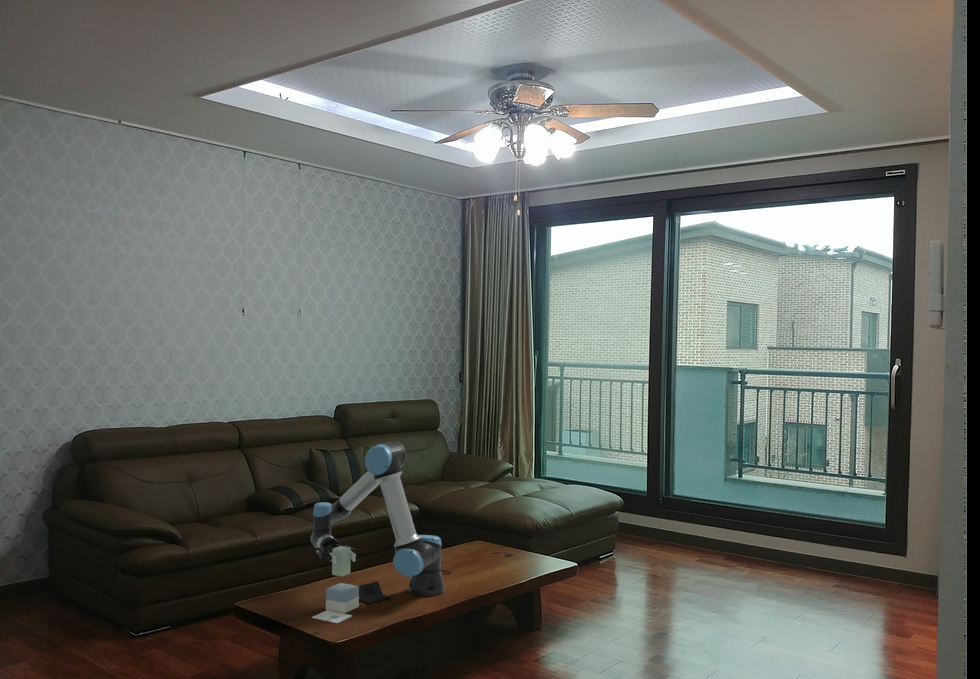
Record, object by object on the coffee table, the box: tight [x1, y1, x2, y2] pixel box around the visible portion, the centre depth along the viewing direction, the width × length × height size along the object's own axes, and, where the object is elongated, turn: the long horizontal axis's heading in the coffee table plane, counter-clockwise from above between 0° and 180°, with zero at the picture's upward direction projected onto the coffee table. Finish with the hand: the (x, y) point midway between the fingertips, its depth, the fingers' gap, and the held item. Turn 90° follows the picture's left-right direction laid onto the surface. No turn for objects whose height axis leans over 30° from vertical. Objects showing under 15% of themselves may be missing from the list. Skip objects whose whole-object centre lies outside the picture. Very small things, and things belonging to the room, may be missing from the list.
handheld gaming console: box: [358, 581, 391, 606], centre depth 315 cm, size 12×7×10 cm
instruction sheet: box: [311, 610, 353, 624], centre depth 293 cm, size 12×9×1 cm
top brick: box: [331, 545, 352, 577], centre depth 304 cm, size 5×5×10 cm
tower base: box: [325, 582, 360, 614], centre depth 303 cm, size 9×9×8 cm
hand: (345, 559), depth 300 cm, fingers closed on top brick, 7 cm apart
